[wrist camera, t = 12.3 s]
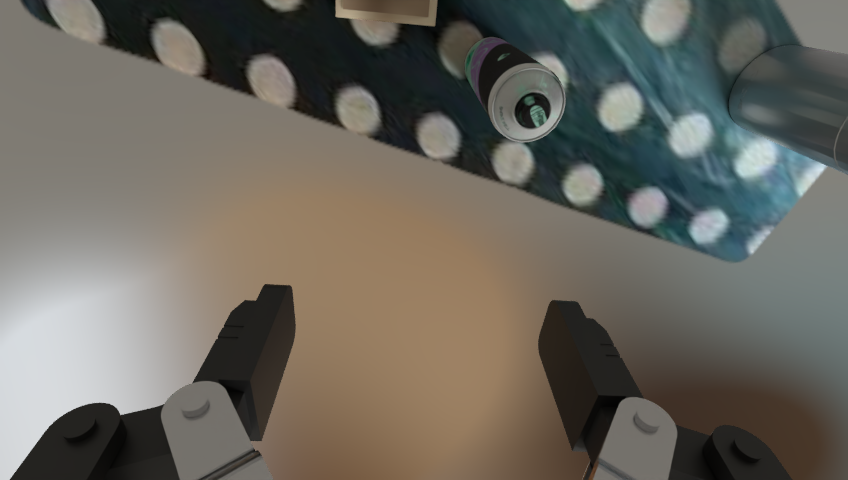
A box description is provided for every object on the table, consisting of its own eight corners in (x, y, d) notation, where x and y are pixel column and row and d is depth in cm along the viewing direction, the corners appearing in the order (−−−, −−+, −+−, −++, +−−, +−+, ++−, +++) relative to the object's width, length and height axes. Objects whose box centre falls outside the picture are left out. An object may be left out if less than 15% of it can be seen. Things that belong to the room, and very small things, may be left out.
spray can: (482, 26, 43) (528, 55, 26) (525, 53, 45) (595, 98, 28) (454, 75, 46) (480, 132, 29) (496, 100, 47) (544, 167, 30)
